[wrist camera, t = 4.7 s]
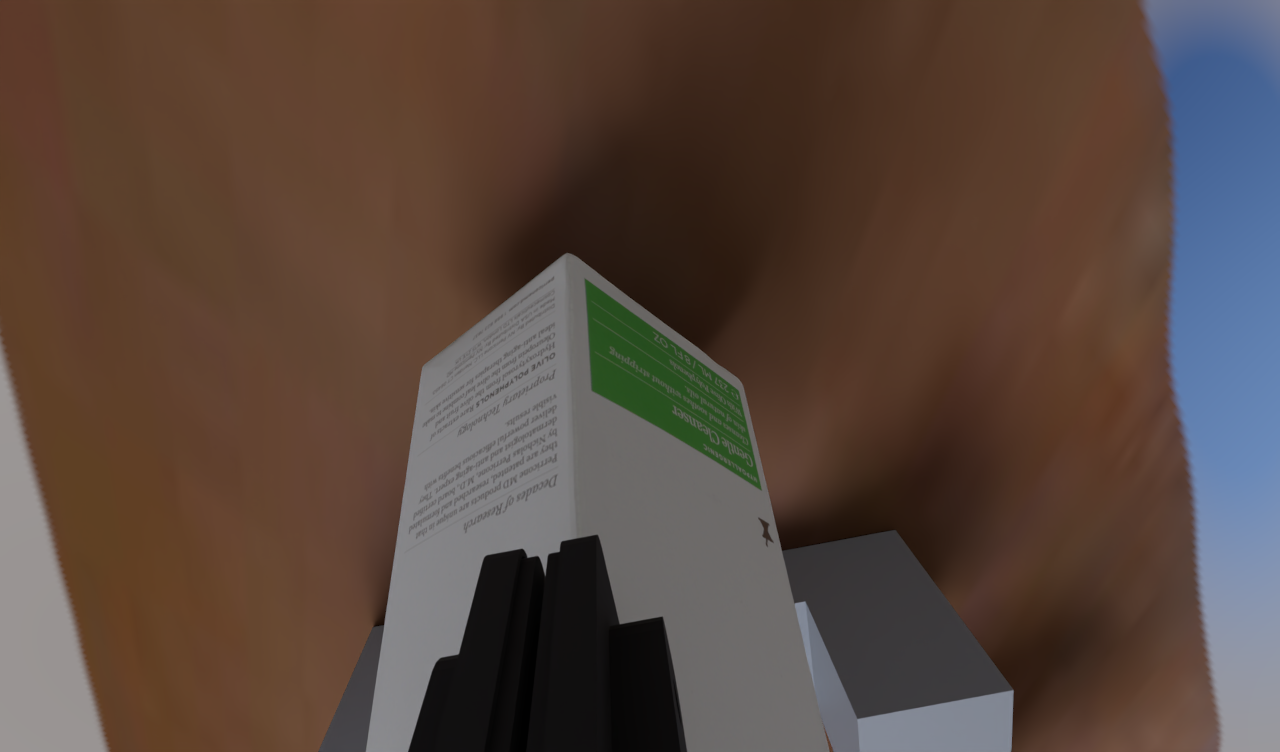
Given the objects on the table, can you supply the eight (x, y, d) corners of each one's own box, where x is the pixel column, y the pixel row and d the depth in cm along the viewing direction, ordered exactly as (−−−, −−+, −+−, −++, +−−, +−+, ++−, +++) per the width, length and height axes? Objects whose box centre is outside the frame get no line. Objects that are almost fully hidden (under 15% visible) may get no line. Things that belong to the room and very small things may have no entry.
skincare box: (744, 377, 22) (928, 1042, 12) (597, 461, 25) (652, 1048, 15) (557, 237, 16) (627, 1233, 7) (398, 367, 19) (291, 1184, 10)
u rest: (372, 627, 27) (286, 825, 19) (895, 530, 26) (1013, 690, 19) (410, 719, 28) (344, 933, 21) (899, 628, 28) (1009, 811, 21)
